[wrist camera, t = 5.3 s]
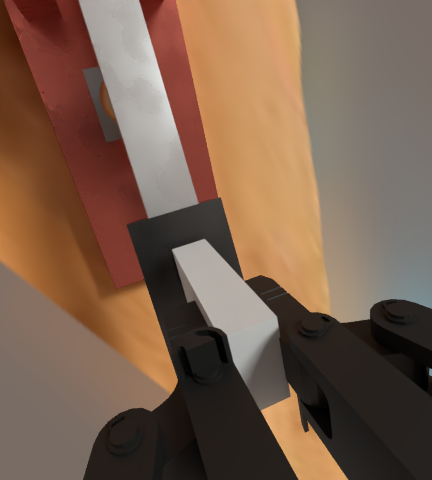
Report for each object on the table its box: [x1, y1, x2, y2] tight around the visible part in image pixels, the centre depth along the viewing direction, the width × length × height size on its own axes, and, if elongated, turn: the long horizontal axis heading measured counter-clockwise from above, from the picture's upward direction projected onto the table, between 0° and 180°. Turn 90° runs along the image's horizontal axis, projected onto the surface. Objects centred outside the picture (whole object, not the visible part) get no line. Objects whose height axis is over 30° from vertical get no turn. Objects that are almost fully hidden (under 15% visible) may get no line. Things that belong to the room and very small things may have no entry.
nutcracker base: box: [4, 0, 218, 289], centre depth 19 cm, size 25×10×10 cm, turn 13°
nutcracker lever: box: [77, 0, 244, 378], centre depth 15 cm, size 23×4×2 cm, turn 13°
